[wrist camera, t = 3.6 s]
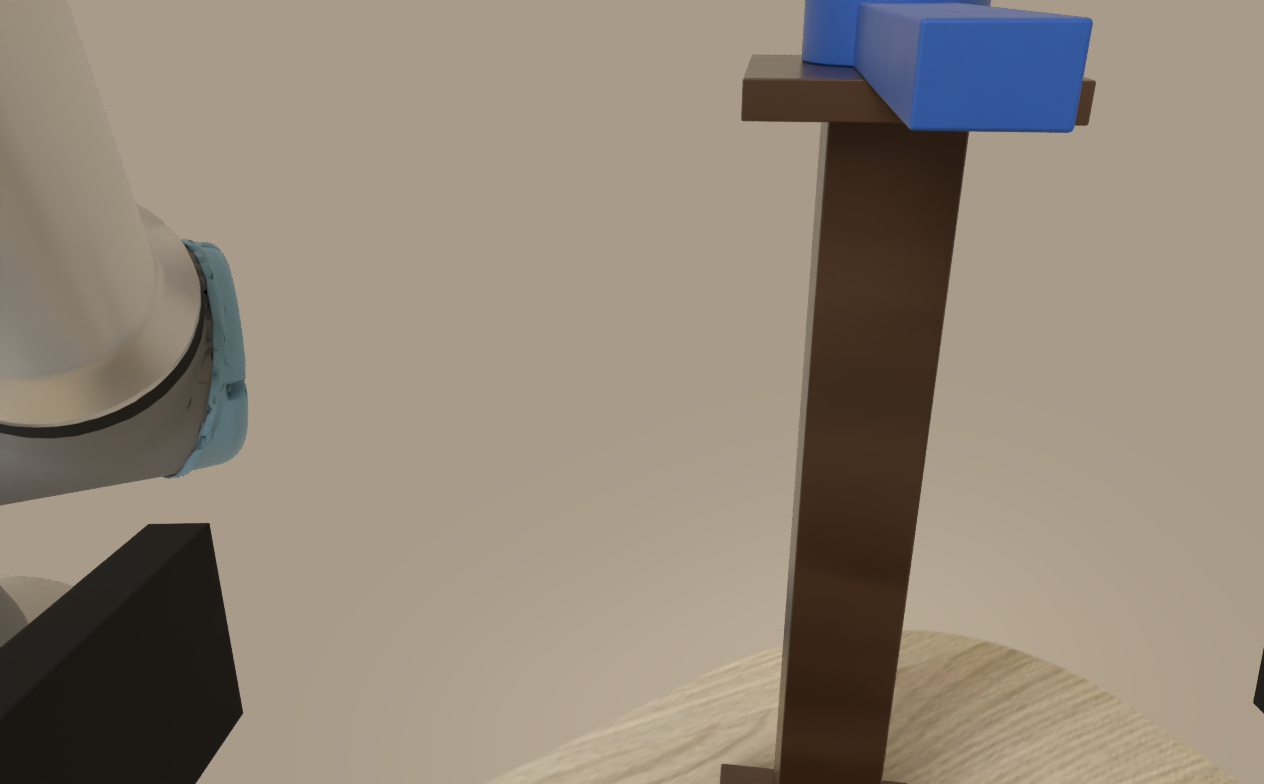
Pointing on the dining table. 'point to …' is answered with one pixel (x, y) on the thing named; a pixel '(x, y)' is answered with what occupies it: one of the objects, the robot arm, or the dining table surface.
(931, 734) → the dining table surface
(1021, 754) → the dining table surface
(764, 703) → the dining table surface
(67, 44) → the robot arm
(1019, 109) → the blue disc paddle
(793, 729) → the stand
